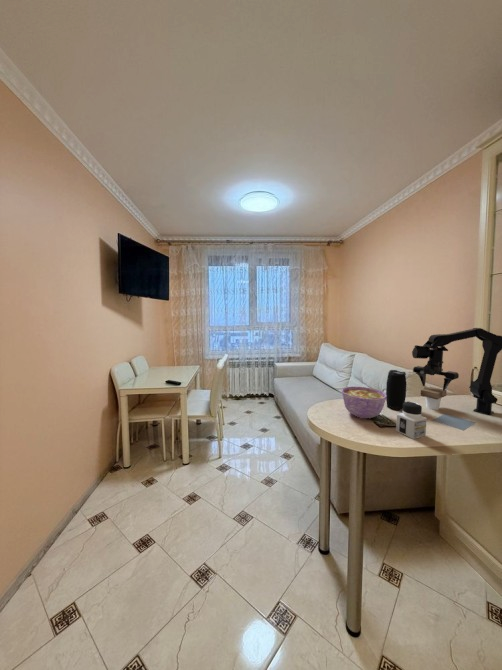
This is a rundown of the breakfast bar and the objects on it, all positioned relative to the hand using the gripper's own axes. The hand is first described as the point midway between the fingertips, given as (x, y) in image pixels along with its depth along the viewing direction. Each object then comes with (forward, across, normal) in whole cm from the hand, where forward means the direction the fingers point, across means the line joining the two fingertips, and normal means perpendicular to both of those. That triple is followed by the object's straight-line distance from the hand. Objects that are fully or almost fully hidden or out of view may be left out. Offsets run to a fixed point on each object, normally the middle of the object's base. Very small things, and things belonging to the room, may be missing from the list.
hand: (433, 388), depth 132 cm
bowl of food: (+11, -14, -40) cm, 44 cm away
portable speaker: (+11, -11, -16) cm, 22 cm away
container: (+11, +8, -40) cm, 42 cm away
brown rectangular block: (+4, 0, 0) cm, 4 cm away
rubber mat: (+11, +13, -11) cm, 20 cm away
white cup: (+11, 0, 0) cm, 11 cm away
